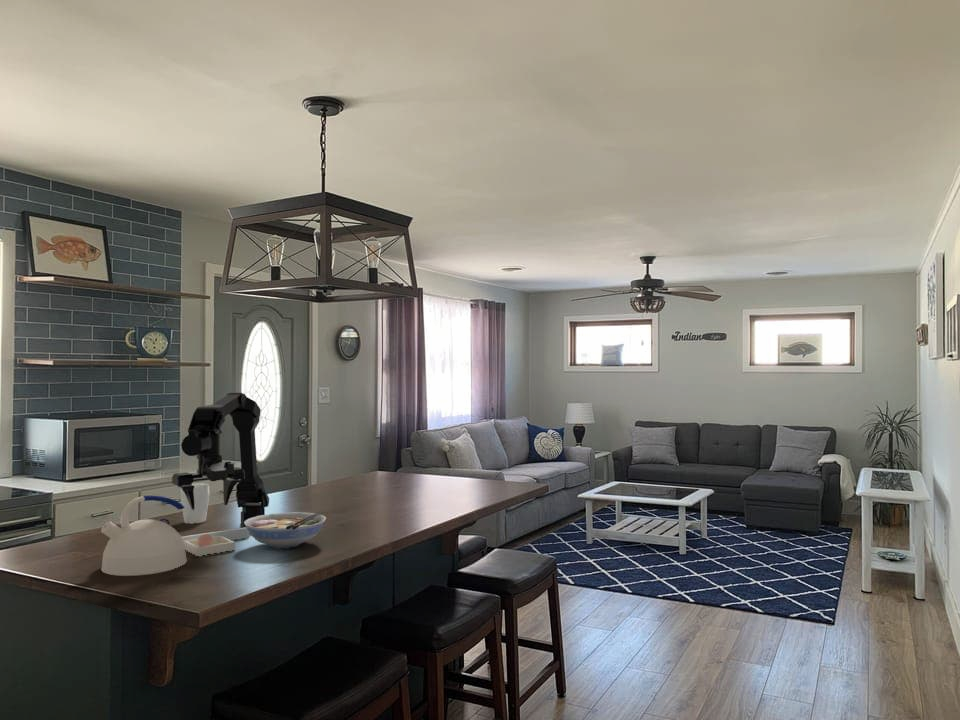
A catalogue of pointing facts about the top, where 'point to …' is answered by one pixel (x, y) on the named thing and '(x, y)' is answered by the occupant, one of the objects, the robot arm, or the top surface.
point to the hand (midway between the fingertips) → (209, 507)
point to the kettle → (142, 544)
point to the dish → (210, 546)
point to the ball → (205, 540)
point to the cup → (196, 504)
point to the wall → (223, 534)
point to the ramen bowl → (285, 528)
